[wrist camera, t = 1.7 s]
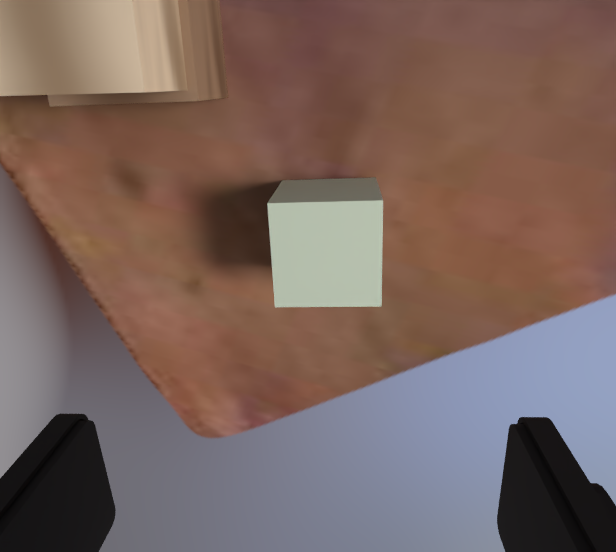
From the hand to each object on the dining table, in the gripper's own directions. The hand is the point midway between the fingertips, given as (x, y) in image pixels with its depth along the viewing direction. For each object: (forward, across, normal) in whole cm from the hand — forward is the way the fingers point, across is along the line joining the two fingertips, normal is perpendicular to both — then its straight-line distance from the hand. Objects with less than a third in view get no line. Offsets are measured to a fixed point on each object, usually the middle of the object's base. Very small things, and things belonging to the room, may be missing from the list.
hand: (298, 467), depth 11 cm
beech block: (+14, +9, -11) cm, 20 cm away
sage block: (+20, 0, 0) cm, 20 cm away
